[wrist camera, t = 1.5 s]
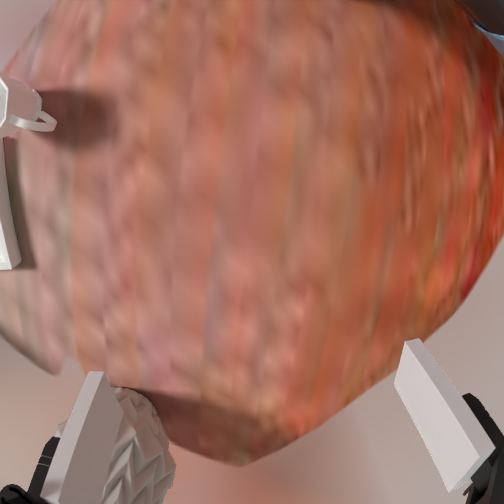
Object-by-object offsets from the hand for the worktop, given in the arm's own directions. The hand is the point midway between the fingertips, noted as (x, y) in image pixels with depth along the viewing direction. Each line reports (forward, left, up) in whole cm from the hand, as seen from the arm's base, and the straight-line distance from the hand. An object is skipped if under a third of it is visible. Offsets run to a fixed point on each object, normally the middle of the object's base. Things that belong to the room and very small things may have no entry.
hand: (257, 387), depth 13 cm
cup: (-15, -22, -22) cm, 34 cm away
